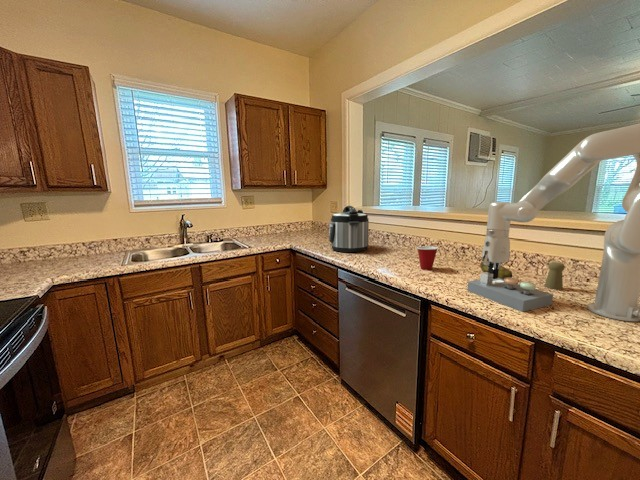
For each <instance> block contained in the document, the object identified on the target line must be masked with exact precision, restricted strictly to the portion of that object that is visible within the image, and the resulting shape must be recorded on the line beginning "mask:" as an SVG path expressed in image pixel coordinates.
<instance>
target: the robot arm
mask: <svg viewBox="0 0 640 480" xmlns="http://www.w3.org/2000/svg"><path fill="white" fill-rule="evenodd" d="M628 156H633V157H634V159H635V161H636V168H635V171H634V174H633V177H632V179H631V182H630V184H629V185H628V187H627V190H626V192H625V194H624V196H623V198H622V201H621V206H622V208H623V210H624V211H625V212H626V214H625V217H624V219H621V220H617V221H615V222H612V224H610V225H609V226H608V227H607V229H605V232H604V236H603V237H604V238H603V253H602V260H601V265H600V270H599V277H598V283H597V289H596V293H595V299H594V302H590V303H588V304H587V310H589V311H590V312H592V313H595V314H597V315H600V316H602V317H605V318H609V319H611V320H612V319H613V320H618V321H624V322H625V321H626V322H640V303H639V301H640V123H637V124H636V123H635V124H631V125H627V126H623V127H618V128H613V129H610V130H604V131H601V132H600V131H599V132H596V133H592V134H591V135H588V136H587V137H584V139H582V140H581V141H580V142H579V143H577V144H576V145H575V146H574V147H573V148H572V149H571V150H570V151H569V152H568V153H566V155H565V156H563V158H562V159H561V160H559V161H558V162H557V163H556V164H555V165H554V166H553V167H552V168H551V169H550V170H549V171H548V172H546V173H545V175H543V177H542V178H541V179H540V180H539V182H538V183H536V184H535V185H534V187H532V188H531V189H530V191H528V192H527V193H526V194H525V195H524V196H523V197H522V198H521V199H520V200H519V201H518V202H509V201H492V202H491V203H490V204H488V212H487V213H488V214H487V224H486V231H485V234H486V235H485V239H484V243H483V245H482V246H483V247H482V253H481V258H482V259H481V260H482V262H483V261H484V263H483V264H484V265H487V267H488V273H492V274H493V279H497V278H498V271H499V269H500V265H501V266H502V264H504V263H506V262H508V261H509V259H510V252H511V251H510V250H511V242H510V241H511V240H510V227H511V222H517V223H529V222H532V221H533V220H535V218H537V216H538V213H539V211H541V210H542V209H543V208H544V207H545V206H546V205H547V204H549V203H550V202H551V201H553V199H555V198H556V197H558V196H560V195H562V194H563V193H565V192H566V191H567V192H568V190H570V189H571V188H572V187H573V186H574V185H576V183H577V182H579V181H580V180H581V179H583V177H584V176H586V175H588V173H589V172H590V171H591V170H593V168H595V167H596V166H597V165H598V164H599V163H601V162H602V161H604V160H612V159H618V158H623V157H628ZM577 184H578V183H577Z"/></svg>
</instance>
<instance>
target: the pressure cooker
mask: <svg viewBox="0 0 640 480" xmlns="http://www.w3.org/2000/svg"><path fill="white" fill-rule="evenodd" d="M368 215H369V214H366V213H364V211H363V210H362V209H358V210H357V209H356V208H355V207H354V206H352V205H347V206H345V207H344V208H343V209H342V212H340V213H333V214H331V218H330V222H329V229H328V231H329V232H328V241H329V243H330V247H331V248H332V250H334V251H336V252H340V253H353V252H354V253H355V252H364V251H365V250H367V249H368V248H369V228H370V227H369V225H370V224H369V223H370V222H369V219H370V218H368V217H369V216H368Z"/></svg>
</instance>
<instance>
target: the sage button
mask: <svg viewBox="0 0 640 480" xmlns="http://www.w3.org/2000/svg"><path fill="white" fill-rule="evenodd" d="M519 284H520V287H521V288H523V289H524V293H523V294H524V295H527V296H530V293H531V290H535V289H536V287H537V285H536V283H533V282H529V281H522V282H520V283H519Z"/></svg>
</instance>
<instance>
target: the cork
mask: <svg viewBox="0 0 640 480" xmlns="http://www.w3.org/2000/svg"><path fill="white" fill-rule="evenodd" d="M547 266H548V267H547V268H548V269H549V270H548V272H547V273H548V274H547V276H546V279H545V283H544V286H545V288H546V287H547V288H546V289H549V288H550V290H553V289H556V290H555V291H561V290H560V289H562V290H563V289H564V286H563V285H564V284H563V271H564V270H565V268H566V267H565V265H564V263H561V262H556V261H551V262H550V263H548V264H547Z"/></svg>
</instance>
